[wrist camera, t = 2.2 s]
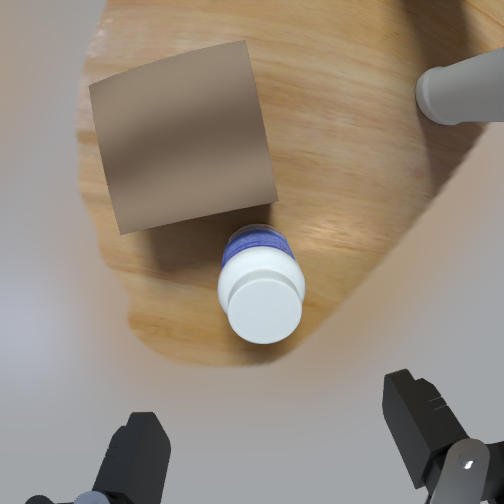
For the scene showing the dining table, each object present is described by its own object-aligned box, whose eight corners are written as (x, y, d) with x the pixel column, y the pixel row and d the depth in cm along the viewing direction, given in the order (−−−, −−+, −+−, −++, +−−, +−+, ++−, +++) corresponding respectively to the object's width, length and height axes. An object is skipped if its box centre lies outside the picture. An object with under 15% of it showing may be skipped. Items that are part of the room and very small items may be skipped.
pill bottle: (211, 242, 25) (191, 295, 16) (271, 209, 25) (285, 246, 15) (245, 296, 27) (244, 368, 18) (302, 267, 26) (329, 328, 17)
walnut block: (122, 97, 22) (88, 85, 16) (245, 65, 21) (245, 40, 15) (147, 215, 25) (120, 235, 19) (271, 189, 24) (278, 201, 18)
